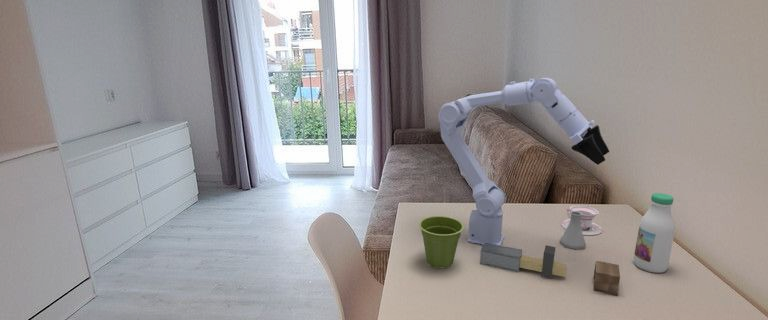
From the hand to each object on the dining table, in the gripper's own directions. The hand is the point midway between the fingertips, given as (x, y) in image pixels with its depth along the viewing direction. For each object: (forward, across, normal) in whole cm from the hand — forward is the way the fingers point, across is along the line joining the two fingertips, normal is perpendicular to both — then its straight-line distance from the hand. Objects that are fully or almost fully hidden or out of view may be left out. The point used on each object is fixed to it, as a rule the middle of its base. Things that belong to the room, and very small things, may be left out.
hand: (603, 158), depth 103 cm
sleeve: (+7, -15, +34) cm, 38 cm away
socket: (+24, -12, +16) cm, 32 cm away
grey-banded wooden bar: (+11, -15, +30) cm, 35 cm away
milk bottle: (+31, +6, +11) cm, 33 cm away
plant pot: (-3, -23, +44) cm, 50 cm away
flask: (+18, +8, +25) cm, 32 cm away
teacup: (+18, +22, +26) cm, 38 cm away
